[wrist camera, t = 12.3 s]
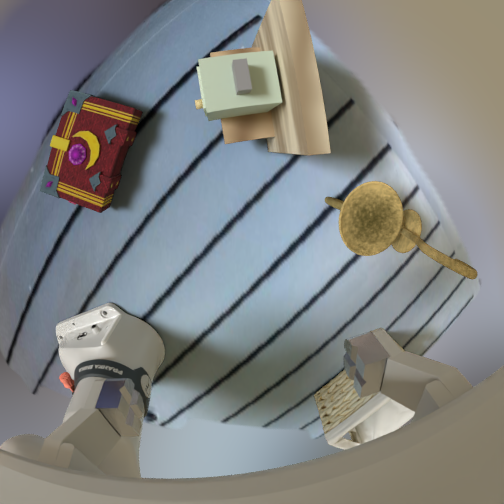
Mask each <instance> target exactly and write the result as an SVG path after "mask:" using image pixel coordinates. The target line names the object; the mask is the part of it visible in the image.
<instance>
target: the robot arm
mask: <svg viewBox="0 0 504 504" xmlns="http://www.w3.org/2000/svg"><path fill="white" fill-rule="evenodd" d="M104 311H106V312H107V313H105V312H104ZM56 335H57V339H58V342H59V344H60V345H59V356H60V359H61V362H62V364H63V366H64V368H65V369H66V371H67V372H64V373H63V374H61V376H60V377H59V379H60V381H61V382H62V383H63V384H64V386H65V387H66V388H70V389H71V391H72V394H73V396H72V399H71V401H70V404H69V406H68V409H67V411H66V414H65V416H64V419H63V424H62V425H61V426H59V427H58V428H57V429H56V430H55V431H54V432H53V433H52V434H50V435H49V436H48V437H47V438H42V437H40V436H38V435H34V434H24V435H18V436H15V437H12V438H10V439H8V440H7V441H5V442H4V443H3V444H2V445H1V446H0V504H504V366H502V367H501V368H500V369H499V370H497V371H496V372H495V373H493V374H492V375H491V376H489V377H488V378H486V379H485V380H483V381H482V382H481V383H479V384H478V385H476V386H475V387H473V386H471V384H470V383H469V382H468V381H467V380H466V378H465V377H464V376H463V375H462V374H461V373H460V372H459V371H458V369H457V368H455V367H451V366H449V365H446V364H443V363H440V362H437V361H434V360H431V359H428V358H425V357H422V356H419V355H416V354H414V353H411V352H408V351H405V352H403V351H402V350H401V349H400V348H399V347H398V345H397V344H396V343H395V342H394V341H393V339H392V338H391V337H390V336H389V335H388V334H387V332H386V331H385V330H384V329H383V328H379V329H376V330H373V331H370V332H367V333H364V334H361V335H358V336H355V337H351V338H348V339H346V340H345V343H344V348H345V349H346V351H347V352H346V354H345V355H344V367H345V371H346V373H347V375H348V377H349V379H352V380H354V385H353V387H354V388H355V390H356V392H357V394H358V396H359V397H360V398H363V397H366V396H369V395H372V394H374V393H377V392H380V393H382V394H384V395H385V396H387V397H389V398H391V399H392V400H394V401H396V402H398V403H399V404H401V405H403V406H405V407H406V408H408V409H410V410H412V411H414V412H415V414H414V416H413V419H412V421H411V423H410V424H408V425H406V426H404V427H402V428H399V429H397V430H395V431H393V432H390V433H388V434H386V435H383V436H381V437H378V438H376V439H373V440H371V441H368V442H366V443H363V444H360V445H357V446H355V447H352V448H349V449H346V450H343V451H340V452H337V453H334V454H330V455H327V456H324V457H320V458H316V459H313V460H309V461H305V462H301V463H297V464H293V465H289V466H284V467H279V468H274V469H268V470H263V471H257V472H251V473H245V474H237V475H228V476H218V477H206V478H182V479H156V478H141V475H140V467H139V446H140V439H141V431H142V425H143V418H144V417H145V416H146V414H147V411H148V406H149V401H150V396H151V388H152V381H153V378H154V376H155V373H156V371H157V370H158V368H159V366H160V365H161V364H162V362H163V360H164V357H165V347H164V344H163V341H162V339H161V337H160V336H159V335H158V333H157V332H156V331H155V330H154V329H153V328H152V327H151V326H150V325H148V324H147V323H145V322H144V321H142V320H140V319H138V318H136V317H133V316H131V315H128V314H126V313H125V312H123V311H122V310H121V309H120V308H119V307H117V306H116V305H114V304H113V303H107V304H104V305H102V306H99V307H97V308H94V309H92V310H89V311H86V312H84V313H81V314H79V315H76V316H74V317H71V318H69V319H66V320H64V321H61V322H59V323H58V324H57V326H56Z"/></svg>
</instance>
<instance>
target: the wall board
mask: <svg viewBox="0 0 504 504" xmlns="http://www.w3.org/2000/svg"><path fill="white" fill-rule="evenodd" d="M260 51H273V54H274V59H275V64H276V69H277V75H278V80H279V86H280V92H281V98H282V103H281V104H279V105H277V106H276V107H274V108H273V109H271V110H270V111H268V112H266V113H257V114H250V115H242V116H236V117H229V118H223V119H221V123H222V129H223V135H224V141H225V144H229V143H235V142H241V141H247V140H254V139H261V138H266V139H267V146H268V152H278V153H289V154H299V155H317V154H327V153H331V151H330V143H329V135H328V128H327V121H326V114H325V108H324V101H323V95H322V90H321V84H320V79H319V73H318V68H317V63H316V58H315V53H314V49H313V44H312V40H311V35H310V31H309V27H308V23H307V19H306V15H305V11H304V7H303V4H302V0H271V2H270V5H269V7H268V9H267V11H266V14H265V16H264V18H263V21H262V23H261V25H260V28H259V30H258V33H257V35H256V38H255V40H254V43H253V45H252V48H245V49H236V50H228V51H220V52H214V53H210V56H211V57H217V56H223V55H231V54H239V53H249V52H260Z"/></svg>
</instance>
